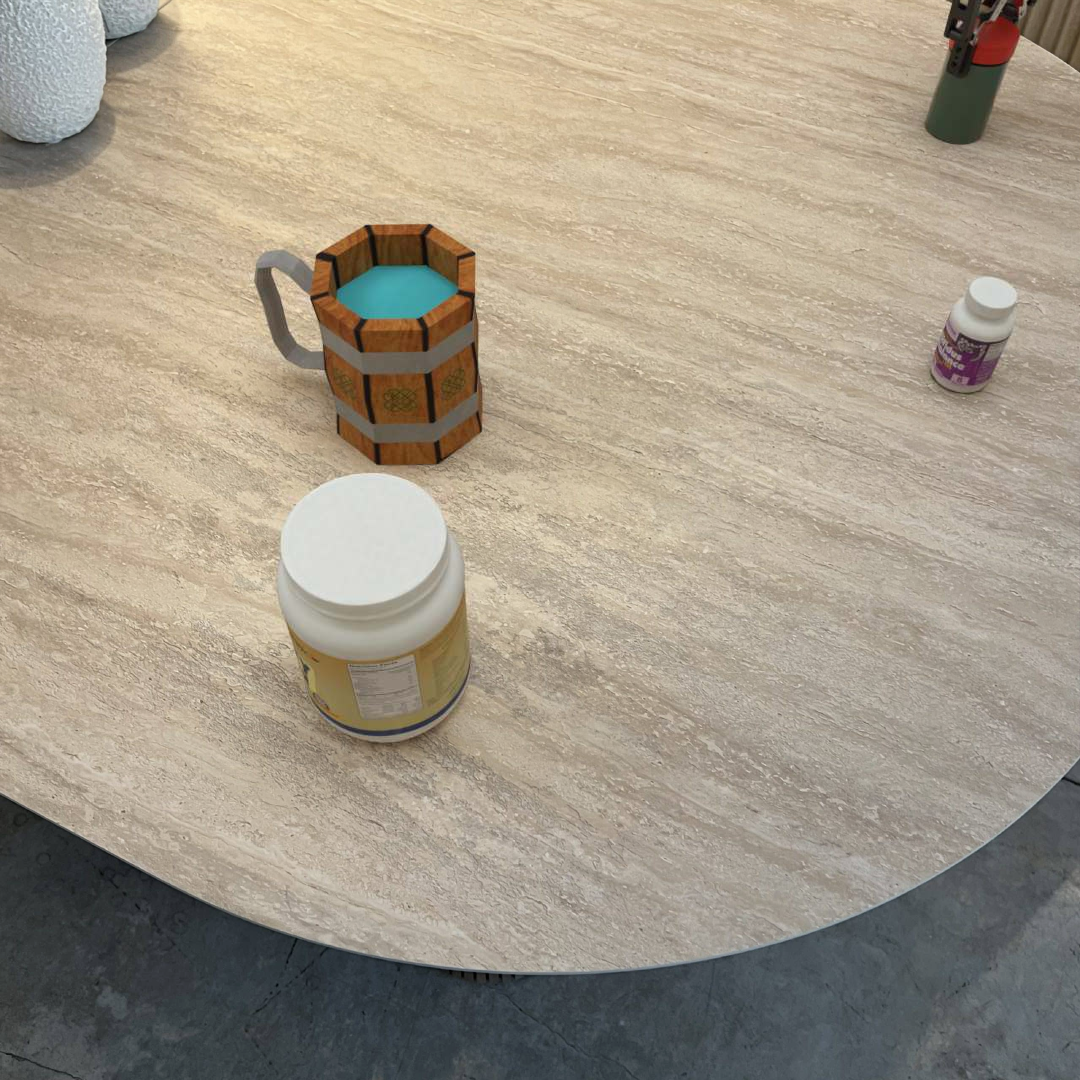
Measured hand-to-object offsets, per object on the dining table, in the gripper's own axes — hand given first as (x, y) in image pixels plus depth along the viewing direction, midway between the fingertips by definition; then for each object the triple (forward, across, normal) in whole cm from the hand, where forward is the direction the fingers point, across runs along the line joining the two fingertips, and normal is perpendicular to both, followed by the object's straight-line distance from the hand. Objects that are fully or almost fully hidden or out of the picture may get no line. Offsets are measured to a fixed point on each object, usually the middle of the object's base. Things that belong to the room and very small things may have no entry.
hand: (976, 61), depth 121 cm
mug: (+9, +73, -8) cm, 74 cm away
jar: (+8, 0, 0) cm, 8 cm away
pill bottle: (+8, +32, +24) cm, 40 cm away
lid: (-3, 0, 0) cm, 3 cm away
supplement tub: (+9, +89, +15) cm, 91 cm away
